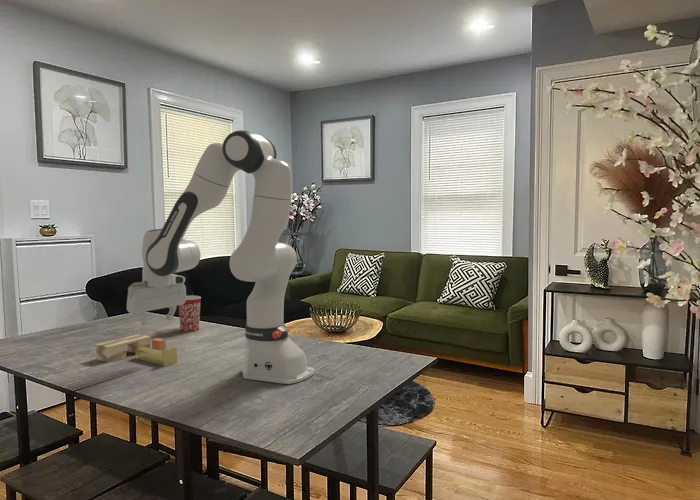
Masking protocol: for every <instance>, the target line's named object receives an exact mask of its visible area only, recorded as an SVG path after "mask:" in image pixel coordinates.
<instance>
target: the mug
mask: <svg viewBox="0 0 700 500" xmlns="http://www.w3.org/2000/svg"><path fill="white" fill-rule="evenodd" d="M201 299H202V297H201V296H199V295H186V301H185V303H184V304H182V305H177V306H176V310H177V311H176V312H177V315H178V318H179V324H180V325H179V327H180V331H181V332H186V333H187V332H188V333H191V332H196V331H199V330H200V317H201V316H200V315H201Z"/></svg>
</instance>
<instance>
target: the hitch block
mask: <svg viewBox="0 0 700 500" xmlns="http://www.w3.org/2000/svg"><path fill="white" fill-rule="evenodd" d="M141 347H147V348H151V336H149V335H145V334H135V335H129V336H125V337H121V338H117V339H113V340H110V341H109V340H108V341H104V342H100V343H96V344H95V355H96V356H95V357H96V358H95V360H96V361H100V362H101V361H102V362H105V363H111V362H113V361H114V362H115V361H117V360H118V361H119V360H122V359H125V358H127V353H134V354H135V349H137V348H141Z"/></svg>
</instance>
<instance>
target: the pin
mask: <svg viewBox="0 0 700 500" xmlns="http://www.w3.org/2000/svg"><path fill="white" fill-rule="evenodd" d="M177 352H178V350H177V347H171V348H168V349H167V348H166V350H163V351H161V350H156V349H152V347H150V348H147V347H141V348H137V349H135V353H134V355H135V359H137V360H140V361H144V362H149V363H153V364H156V365H161V367H168V366H170V365H174V364H176V363H177V364H178V361H177V359H178V353H177Z"/></svg>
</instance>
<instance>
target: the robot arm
mask: <svg viewBox="0 0 700 500" xmlns="http://www.w3.org/2000/svg"><path fill="white" fill-rule="evenodd" d="M277 156H278V154H277V148H276V147H275V145H274V143H273V142H272V141H271V140H270V139H268V138H266V137H265V136H262V135H260V134H258V133H257V132H253V131H248V130H243V129H242V130H235V131H233V132H231V133H229V134H228V135H227V136H226V137H225V139H224V140H223V143H220V142H213V143H210V144H209V145H208V146H207V147H206V148H205V149H204V152H203V153H202V155H201V157H200V158H199V160H198V162H197V164H196V166H195V169H194V171H193V174H192V175H191V178H190V180H189V182H188V184H187V186H186V188H185V189H184V191H183V192H182V194H180V196H179V198H178V199H177V200H176V202H175V204H174V205H173V208H172V209H171V211H170V212H169V215H168V216H167V218H166V221H165V223H164V224H163V227H162V228H156V229H154V228H153V229H151V230H147V231H146V232H145V233H144V236H143V239H142V248H141V250H142V251H141V254H142V255H141V256H142V257H141V258H142V261H143V265H142V281H139V282H137V281H136V282H133V283H132V284H130V285H129V286H128V288H127V297H126V298H127V299H126V311H127V312H128V313H131V314H137V316H138V318H139V319H140V323H141V326H142V327H145V326H146V327H147V326H149V325H150V320H149V319H148V318H147V317H146V315H147V312H149V311H155V310H160V309H161V310H162V309H166V308H168V309H169V311H168V313H167V314H166V315H165V317H166V318H165V320H166V321H173V320H174V315H175V313H176V312H177V311H176V310H177V305H182V304H184V303H185V301H186V296H187V287H186V285H185V284H184V283H185V282H186V277H185V276H183V275H178V274H175V273H181V272H185V271H189V270H192V269H195V268H196V267H197V266H198V265H199V263H200V260H201V250H200V248H199V245H197V244H196V243H195V242H194V241H193V240H192V241H191V240H187V239H185V238H184V237H185V234H186V232H187V230H188V229H189V227H190V226H191V223H192V222H193V221H194V220H195V219H196V218H197V217H198V216H200V215H202V214H203V213H205V212H207V211H210V210H212V209H215V208H216V207H218V206H219V205H220V204H221V203H222V202H223V200H224V199H225V197H226V196H227V193H228V191H229V189H230V185H231V183H232V180H233V179H234V176H235V175H236V173H237V172H239V171H242V172H244V173H247V174H251V175H253V178H254V189H253V190H254V191H253V198H252V206H251V214H250V220H249V224H248V227H247V229H246V232H245V234H244V237H243V238H242V241H241V242H240V244H239V245H238V246H237V248H236V249H235V250H234V251H232V253H231V255H230V258H229V269H230V272H231V273H232V275H233V276H234V277H235V278H236V279H237V280H239V281H242V282H251V283H255V284H254V285H253V289H252V291H251V293H250V294H249V295H248V297H247V299H246V324H245V326H244V327H245V329H244V333H245V338H246V339H245V340H246V343H245V350H244V351H245V353H244V359H243V364H242V368H241V373H242V379H243V380H244V379H245V380H254V381H260V382H261V381H262V382H266V383H267V382H269V383H276V384H283V385H291V384H296V383H299V382H302V381H304V380H306V379H308V378H310V377H311V376H313V375H314V374H315V368H314V367H311V366H308V363H307V356H306V353H305V351H304V350H303V349H302V348H301V347H300V346H298V344H296V342H294V341H293V340H292V339H291V338H290V336H289V333H290V332H292V330H291V329H292V328H291V327H289V328H287V327H286V325H285V323H284V314H285V313H284V310H285V307H284V306H285V295H286V290H287V286H288V283H289V279H290V276H291V274H292V272H293V270H294V269H295V268H296V266H297V263H298V257H297V252H296V250H295V249H294V248H293V247H292V246H291V245H289V244H286V243H283V242H279V239H280V237H281V235H282V234H283V232H284V231H285V230H286V229H287V227H288V226H289V222H290V221H289V218H290V211H291V205H292V203H291V201H292V195H293V194H292V193H293V191H292V190H293V176H292V173H293V172H292V169H291V167H290V165H289V164H288V163H286V162H285V161H284V160H280V159H277Z"/></svg>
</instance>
